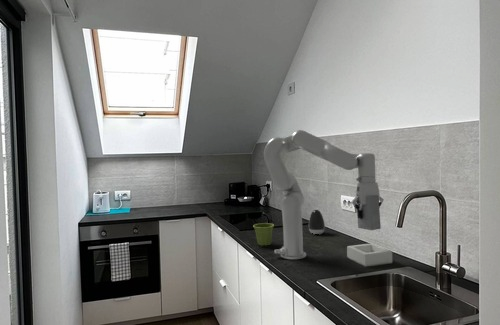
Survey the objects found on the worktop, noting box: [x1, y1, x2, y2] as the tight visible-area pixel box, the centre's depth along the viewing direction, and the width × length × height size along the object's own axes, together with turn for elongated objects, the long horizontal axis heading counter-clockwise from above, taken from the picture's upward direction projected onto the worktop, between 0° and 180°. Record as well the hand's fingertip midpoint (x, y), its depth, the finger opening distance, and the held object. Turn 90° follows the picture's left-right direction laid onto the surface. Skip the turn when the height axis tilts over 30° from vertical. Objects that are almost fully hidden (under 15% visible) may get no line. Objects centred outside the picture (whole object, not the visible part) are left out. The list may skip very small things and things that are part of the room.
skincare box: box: [356, 195, 382, 231], centre depth 164 cm, size 8×7×16 cm
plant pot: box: [252, 222, 275, 246], centre depth 198 cm, size 12×12×11 cm
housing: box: [346, 243, 393, 268], centre depth 164 cm, size 14×15×6 cm
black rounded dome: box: [308, 209, 326, 235], centre depth 221 cm, size 10×10×15 cm
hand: (368, 217), depth 164 cm, fingers closed on skincare box, 7 cm apart
